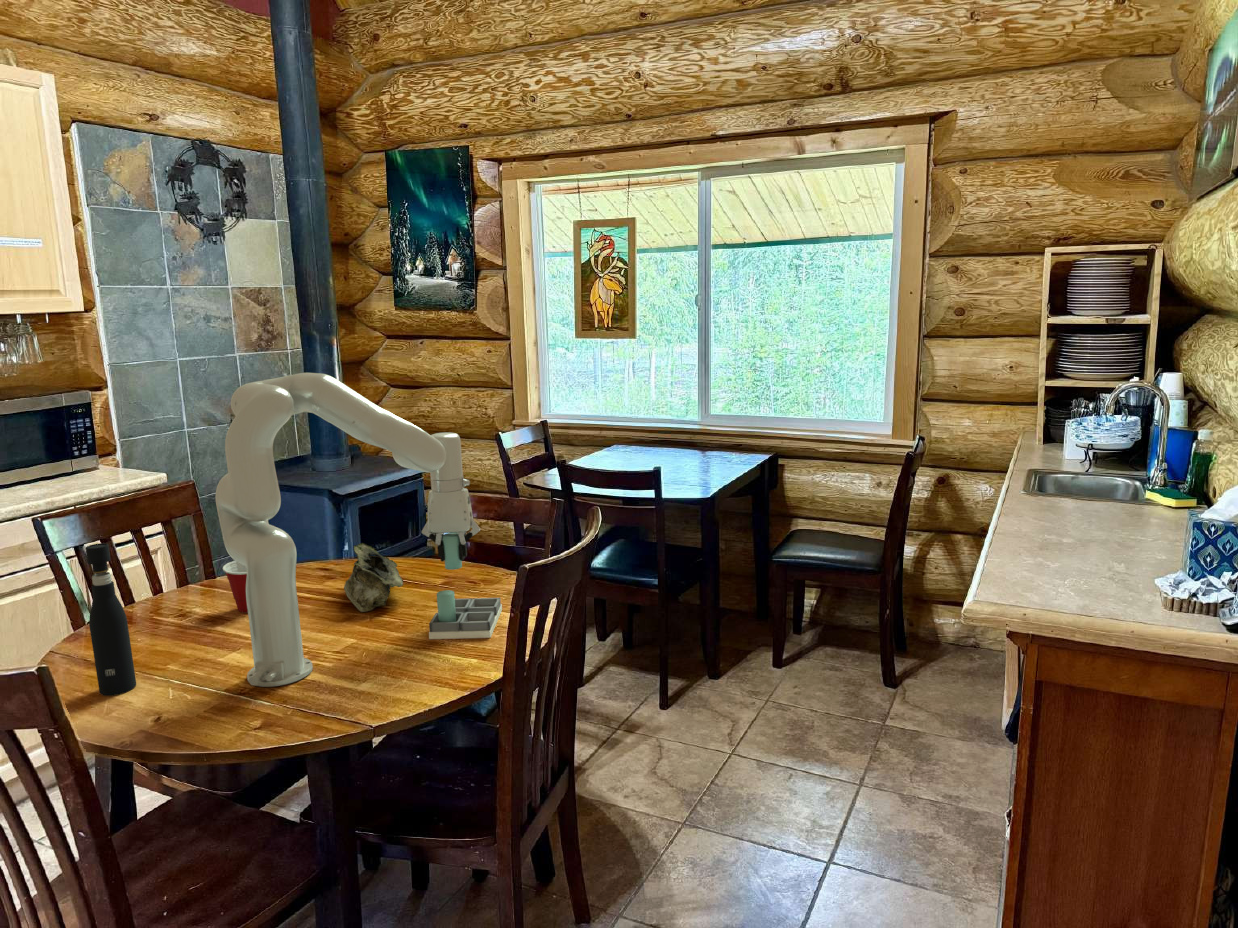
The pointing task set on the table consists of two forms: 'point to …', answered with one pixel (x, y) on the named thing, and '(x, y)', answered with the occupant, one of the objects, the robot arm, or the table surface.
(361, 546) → the hollow geode rock
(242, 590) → the plastic cup
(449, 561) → the teal peg
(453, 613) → the pin board
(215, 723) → the table surface
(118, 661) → the black water bottle
